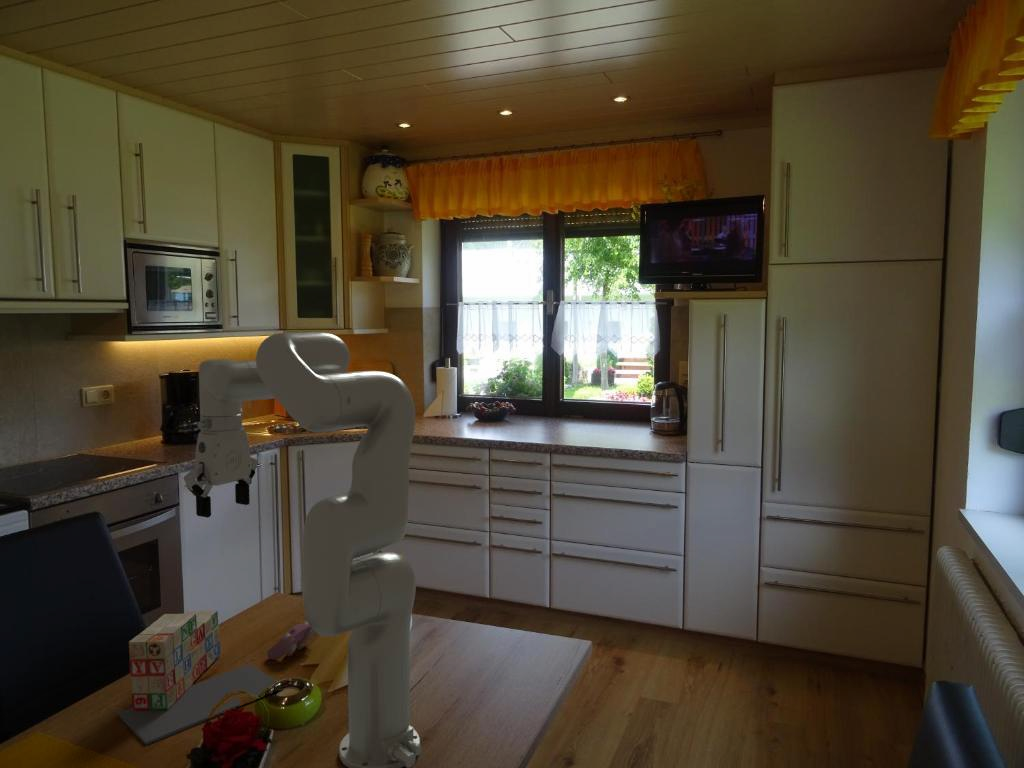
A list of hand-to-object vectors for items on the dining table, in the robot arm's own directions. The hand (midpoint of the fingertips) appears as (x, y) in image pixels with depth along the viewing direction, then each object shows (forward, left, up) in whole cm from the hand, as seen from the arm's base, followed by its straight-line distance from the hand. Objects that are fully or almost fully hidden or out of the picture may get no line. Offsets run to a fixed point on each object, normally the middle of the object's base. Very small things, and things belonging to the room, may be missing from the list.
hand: (223, 509), depth 142 cm
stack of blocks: (-3, +11, -30) cm, 32 cm away
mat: (-13, +11, -30) cm, 34 cm away
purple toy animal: (-7, -10, -31) cm, 33 cm away
